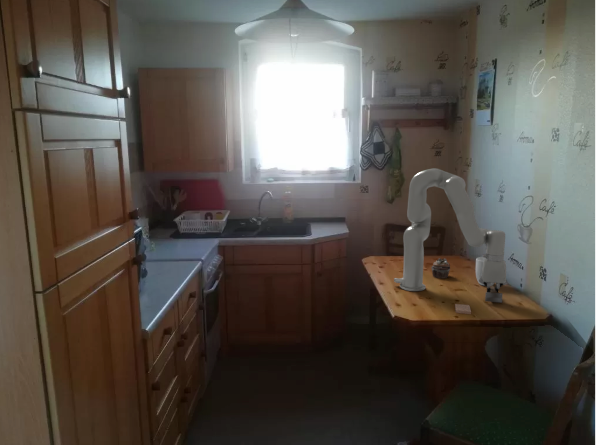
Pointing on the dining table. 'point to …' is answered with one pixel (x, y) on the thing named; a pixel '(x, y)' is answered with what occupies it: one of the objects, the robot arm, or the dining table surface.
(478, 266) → the mug
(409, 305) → the dining table surface
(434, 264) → the cupcake
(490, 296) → the scraper
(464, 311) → the tile
